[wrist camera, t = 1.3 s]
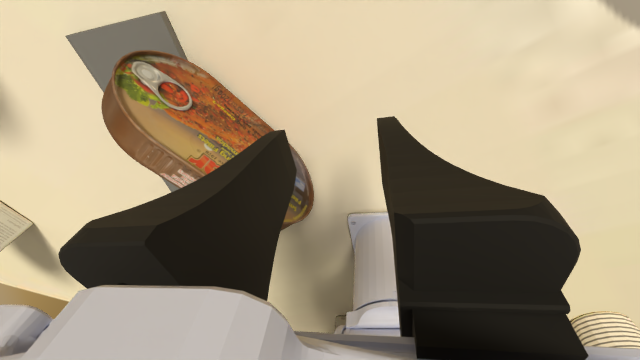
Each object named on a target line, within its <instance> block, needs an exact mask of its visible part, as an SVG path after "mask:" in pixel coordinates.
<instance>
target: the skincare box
mask: <svg viewBox="0 0 640 360" xmlns="http://www.w3.org/2000/svg"><path fill="white" fill-rule="evenodd" d="M32 224H33V223H32V222H31V221H29V220H28V219H26V218H24V217H23V216H21V215H20V214H18V213H17V212H15V211H14V210H12V209H11V208H9V207H8V206H6V205H5V204H3V203H2V202H0V252H1V251H2V250H3V249H4V248H5V247H6V246H8V245H9V244H10V243H11V242H12V241H14V240H15V239H16V238H17V237H18V236H20V235H21V234H22V233H23V232H24V231H26V230H27V229H28V228H29V227H30V226H32Z"/></svg>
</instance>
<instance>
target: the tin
mask: <svg viewBox="0 0 640 360" xmlns="http://www.w3.org/2000/svg"><path fill="white" fill-rule="evenodd" d="M102 114H103V119H104V122H105V124H106V127H107V129H108V131H109V133H110V134H111V136H112V137H113V139H114V140H115V141H116V143H117V144H118V145H119V146H120V147H121V148H122V149H123V150H124V151H125V152H126V153H127V154H128V155H129V156H131V157H132V158H133V159H134V160H136V161H137V162H139V163H140V164H142V165H143V166H145V167H146V168H148V169H149V170H151V171H153V172H154V173H156V174H157V175H159V176H160V177H162V178H164V179H165V180H167V181H168V182H170V183H172V184H173V185H175V186H176V187H178V188H182V187H184V186H186V185H188V184H190V183H192V182H194V181H196V180H198V179H200V178H201V177H203V176H205V175H207V174H209V173H210V172H212V171H214V170H215V169H217V168H218V167H220V166H221V165H223V164H224V163H226V162H227V161H229V160H230V159H231V158H233V157H234V156H236V155H237V154H239V153H240V152H241V151H243V150H244V149H245V148H247V147H248V146H250V145H251V144H252V143H254V142H255V141H256V140H258V139H259V138H261V137H262V136H263V135H265V134H267V133H269V132H270V131H274V130H273V129H272V128H271V127H270V126H269V125H267V124H266V123H265V122H264V121H263V120H262V119H260V118H259V117H258V116H257V115H256V114H255V113H254V112H253V111H251V110H250V109H249V108H248V107H247V106H246V105H244V104H243V103H242V102H241V101H240V100H239V99H238V98H237V97H235V96H234V95H233V94H232V93H231V92H230V91H228V90H227V89H226V88H225V87H224V86H223V85H222V84H220V83H219V82H218V81H217V80H216V79H215V78H213V77H212V76H211V75H210V74H209V73H207V72H206V71H204V70H203V69H201V68H200V67H198V66H196V65H195V64H193V63H191V62H189V61H187V60H185V59H183V58H180V57H178V56H176V55H172V54H169V53H165V52H160V51H155V50H139V51H134V52H130V53H128V54H126V55H124V56H123V57H121V58H120V59H119V60H118V61H117V63H116V64H115V66H114V68H113V71H112V77H111V79H110V81H109V83H108V85H107V87H106V89H105V92H104V95H103V99H102ZM289 146H290V149H291V153H292V156H293V159H294V162H295V166H296V169H297V173H296V180H295V186H294V191H293V194H292V197H291V200H290V204H289V207H288V210H287V213H286V216H285V219H284V222H283V225H282V228H281V230H283V229H285V228H287V227H288V226H290V225H292V224H293V223H297V222H299V221H301V220H303V219H304V218H305V217H306V216H307V215H308V214H309V213H310V211H311V209H312V206H313V201H314V191H313V185H312V181H311V178H310V175H309V172H308V170H307V168H306V166H305V164H304V162H303V160H302V159H301V157H300V156H299V155H298V153H297V152H296V151H295V150H294V148H293V147H292V146H291V145H290V144H289Z"/></svg>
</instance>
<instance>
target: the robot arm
mask: <svg viewBox="0 0 640 360" xmlns="http://www.w3.org/2000/svg"><path fill="white" fill-rule="evenodd" d="M377 126H378V138H379V150H380V162H381V174H382V184H383V190H384V195H385V200H386V206H387V211H388V212H380V213H359V214H350V215H348V224H349V229H350V234H351V239H352V244H353V249H354V254H355V268H354V292H353V311H351V312H346V325H340V326H338V327H337V328H336V330H335V332H334V333H319V332H299V331H293V330H292V328H291V326H290V324H289V323H288V321H287V320H286V318H285V317H284V316H283V315H282V314H281V313H280V312H279V311H278V310H277V309H276V308H275V307H274V306H273V305H272V304H271V303H270V302H267V298H268V291H269V284H270V278H271V272H272V267H273V261H274V256H275V251H276V246H277V241H278V238H279V234H280V231H281V228H282V225H283V222H284V219H285V216H286V213H287V210H288V207H289V204H290V200H291V197H292V194H293V191H294V186H295V180H296V173H297V169H296V166H295V162H294V159H293V156H292V153H291V149H290V146H289V143H288V140H287V136H286V133H285V130H278V131H270V132H269V133H267V134H265V135H263V136H262V137H261V138H259V139H258V140H256V141H255V142H254V143H252V144H251V145H250V146H248V147H247V148H245V149H244V150H243V151H241V152H240V153H239V154H237V155H236V156H234V157H233V158H231V159H230V160H229V161H227V162H226V163H224V164H223V165H221V166H220V167H218V168H217V169H215V170H214V171H212V172H210V173H209V174H207V175H205V176H203V177H201V178H200V179H198V180H196V181H194V182H192V183H190V184H188V185H186V186H184V187H182V188H180V189H178V190H176V191H173V192H171V193H169V194H167V195H165V196H162V197H160V198H157V199H155V200H152V201H150V202H147V203H144V204H142V205H139V206H136V207H133V208H131V209H128V210H124V211H121V212H118V213H115V214H112V215H108V216H105V217H102V218H99V219H95V220H92V221H90V222H89V223H87V224H86V225H85V226H84V227H83V228H82V229H80V230H79V231H78V232H77V233H76V234H75V235H74V236H73V237H72V238H71V239H70V240H69V241H68V242H67V243H66V244H65V245H64V246H63V247H62V248H61V249H60V252H59V259H60V262H61V265H62V266H63V267H64V269H65V270H66V271H67V272H68V273H69V274H70V275H71V276H72V277H73V278H74V279H76V280H77V281H78V282H80V283H81V284H82V285H83V286H85V287H86V288H87V289H85V290H81V291H78V293H77V294H76V295H75V296H74V297H73V298H72V300H71V301H70V302H69V303H68V304H67V305H66V307H65V308H64V309H63V310H62V311H61V312H60V314H59V315H58V316H57V317H56V318H55V319H52V318H51V316H49V315H48V314H47V313H45V312H43V311H42V310H40V309H38V308H35V307H32V306H28V305H10V304H9V305H8V304H3V305H0V360H640V349H638V348H618V347H598V346H583V344H582V343H581V341H580V339H579V337H578V335H577V334H576V332H575V330H574V328H573V326H572V325H571V323H570V321H569V319H568V317H567V315H566V314H568V313H569V312H570V305H569V304H568V302H567V300H566V298H565V297H564V295H563V293H562V291H561V289H562V287H563V285H564V284H565V282H566V280H567V278H568V277H569V275H570V273H571V271H572V270H573V268H574V266H575V265H576V263H577V261H578V257H579V254H580V251H581V248H580V244H579V239H578V237H577V236H576V235H575V233H574V232H573V231H572V229H571V228H570V227H569V225H568V224H567V222H566V221H565V220H564V218H563V217H562V216H561V214H560V213H559V212H558V211H557V210H556V208H555V207H554V206H553V205H552V204H551V203H550V202H549V201H548V200H547V198H546V197H545V196H542V195H539V194H535V193H531V192H527V191H524V190H520V189H516V188H512V187H509V186H505V185H502V184H499V183H496V182H493V181H490V180H487V179H484V178H482V177H479V176H477V175H474V174H472V173H469V172H467V171H465V170H463V169H461V168H459V167H456V166H454V165H452V164H450V163H449V162H447V161H445V160H443V159H442V158H440V157H438V156H437V155H435V154H434V153H432V152H431V151H429V150H428V149H427V148H425V147H424V146H423V145H421V144H420V143H419V142H418V141H417V140H416V139H415V138H414V137H413V136H412V135H411V134H409V132H408V131H407V130H406V129H405V128H404V127H403V126H402V125H401V124H400V122H399V121H398V120H397V119H396V118H395V117H394V116H393V117H385V118H377Z"/></svg>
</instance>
